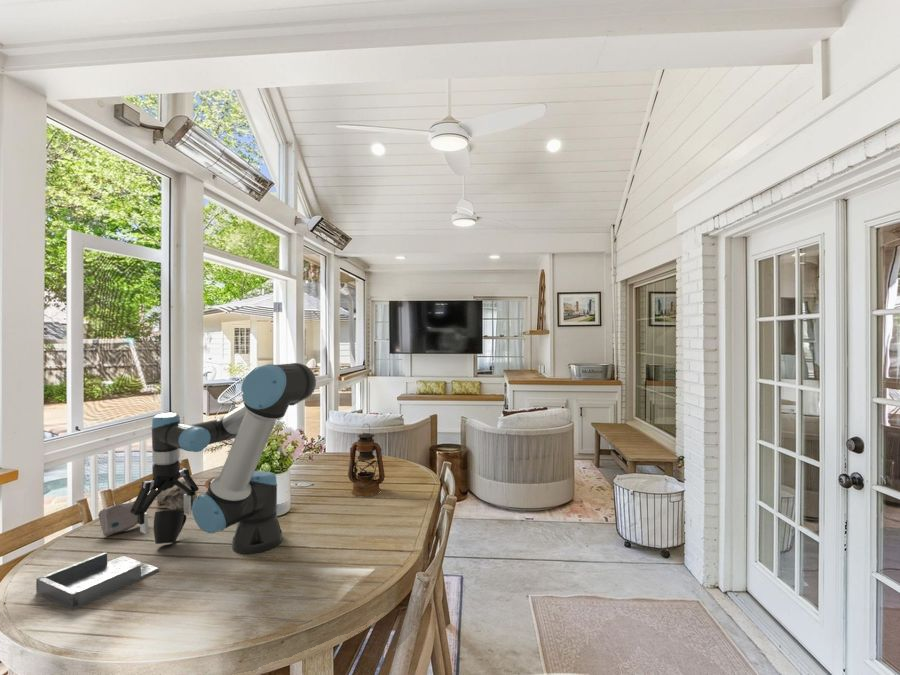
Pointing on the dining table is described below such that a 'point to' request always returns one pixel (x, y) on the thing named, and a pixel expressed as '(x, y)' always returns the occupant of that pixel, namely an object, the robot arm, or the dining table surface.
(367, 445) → the lantern
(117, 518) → the mauve grey rounded block
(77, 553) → the dining table surface
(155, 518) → the black rounded cylinder
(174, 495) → the rock
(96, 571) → the grey rectangular tray
